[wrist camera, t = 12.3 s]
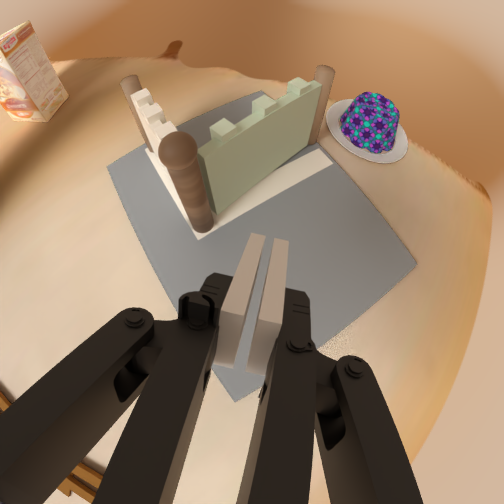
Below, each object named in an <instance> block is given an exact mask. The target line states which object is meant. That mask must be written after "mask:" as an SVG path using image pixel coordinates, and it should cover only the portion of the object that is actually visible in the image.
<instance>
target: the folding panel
mask: <svg viewBox="0 0 504 504" xmlns="http://www.w3.org/2000/svg"><path fill="white" fill-rule="evenodd" d="M334 75H335V70H334V69H333V68H331V67H329V66H326V65H319V66H317V67H316V72H315V76H314V80H313V81H311V82H306V81H305V80H303V79H301V78H299V77H297V78H295V79H293V80H291V81H289V82H288V86H287V94H286V95H284V96H282V97H280V98H278V99H277V100H273V99H271V98H270V97H268V96H267V95H265V94H264V95H263V96H261V97H259V98H257V99H255V100H254V101H252V114H251V115H249V116H248V117H246V118H244V119H243V120H241V121H240V122H238V123H236V124H235V125H233V124H232V123H231V122H229V121H228V120H226V119H225V118H223V119H221V120H220V121H218V122H217V123H215V124H214V125H212V126H210V133H211V139H212V140H210V141H209V142H208V143H206V144H205V145H203V146H202V147H200V148H199V149H198V152H197V158H198V162H199V166H200V170H201V174H202V178H203V181H204V185H205V189H206V193H207V197H208V200H209V204H210V208H211V210H212V211H213V212H214V213H215V214H216V215H219V214H220V213H221V212H222V211H223V210H225V209H226V208H227V207H228V206H230V205H231V204H232V203H233V202H234V201H236V200H237V199H238V198H239V197H241V196H242V195H243V194H244V193H246V192H247V191H248V190H249V189H251V188H252V187H253V186H254V185H256V184H257V183H258V182H260V181H261V180H262V179H263V178H265V177H266V176H267V175H269V174H270V173H271V172H272V171H274V170H275V169H276V168H278V167H279V166H280V165H282V164H283V163H284V162H286V161H287V160H288V159H289V158H291V157H292V156H293V155H295V154H296V153H297V152H299V151H300V150H301V149H303V148H304V147H306V146H307V144H308V145H313V144H315V143H316V140H317V137H318V133H319V130H320V126H321V123H322V119H323V116H324V112H325V109H326V105H327V101H328V98H329V94H330V90H331V87H332V83H333V79H334Z"/></svg>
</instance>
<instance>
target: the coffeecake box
mask: <svg viewBox="0 0 504 504" xmlns="http://www.w3.org/2000/svg"><path fill="white" fill-rule="evenodd" d="M68 97H69V95H68V93H67V92H66V90H65V88H64V87H63V85H62V83H61V81H60V79H59V78H58V76H57V74H56V72H55V70H54V69H53V67H52V65H51V63H50V61H49V59H48V57H47V55H46V53H45V52H44V50H43V48H42V46H41V44H40V42H39V40H38V38H37V36H36V33H35V31H34V29H33V27H32V25H31V23H30V21H29V20H28V21H27V22H25V23H23V24H21V25H19V26H17V27H15V28H13V29H11V30H9V31H7V32H5V33H3V34H2V35H0V104H1V105H2V106H3V108H4V109H5V110H6V112H7V113H8V114H9V115H10V117H11V118H12V119H13V121H31V122H48V121H49V120H50V119H51V117H52V116H53V115H54V114H55V112H56V111H57V110H58V108H59V107H60V106H61V105H62V104H63V103H64V102H65V101H66V100H67V98H68Z"/></svg>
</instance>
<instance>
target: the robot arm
mask: <svg viewBox="0 0 504 504" xmlns="http://www.w3.org/2000/svg"><path fill="white" fill-rule="evenodd" d="M264 241H265V236H264V235H260V234H255V233H251V235H250V237H249V240H248V242H247V245H246V247H245V250H244V252H243V255H242V257H241V260H240V262H239V265H238V267H237V270H236V272H235V275H234V277H233V276H229V275H224V274H220V273H216V272H214V273H212V274H211V275H209V276H208V277H206V279H205V281H204V283H203V285H202V286H201V288H200V291H193V292H187V293H185V294H183V295H182V296H181V297H180V298H179V300H178V319H176V320H171V321H162V320H154V318H153V316H152V314H151V313H150V312H148V311H147V310H145V309H142V308H135V307H132V308H128V309H125V310H123V311H121V312H120V313H118V314H117V315H116V316H115V317H113V318H112V319H111V320H110V321H109V322H107V323H106V324H105V325H104V326H102V327H101V328H100V329H99V330H97V331H96V332H95V333H94V334H93V335H91V336H90V337H89V338H88V339H87V340H85V341H84V342H83V343H82V344H80V345H79V346H78V347H77V348H76V349H75V350H73V351H72V352H71V353H70V354H69V355H67V356H66V357H65V358H64V359H63V360H61V361H60V362H59V363H58V364H57V365H56V366H54V367H53V368H52V369H51V370H50V371H49V372H47V373H46V374H45V375H44V376H43V377H42V378H41V379H39V380H38V381H37V382H36V383H35V384H34V385H33V386H31V387H30V388H29V389H28V390H27V391H26V392H25V393H24V394H22V395H21V396H20V397H19V398H18V399H17V400H16V401H15V402H14V403H13V404H11V405H10V406H9V407H8V408H7V409H6V410H5V411H4V412H3V413H2V414H1V415H0V504H43V503H44V502H45V501H46V500H47V499H48V497H49V496H50V495H51V494H52V493H53V492H54V491H55V490H56V489H57V487H58V486H59V485H60V484H61V483H62V482H63V481H64V480H65V478H66V477H67V476H68V475H69V474H70V473H71V472H72V471H73V470H74V468H75V467H76V466H77V465H78V464H79V463H80V462H81V461H82V459H83V458H84V457H85V456H86V455H87V454H88V453H89V452H90V450H91V449H92V448H93V447H94V446H95V445H96V444H97V442H98V441H99V440H100V439H101V438H102V437H103V436H104V435H105V433H106V432H107V431H108V430H109V429H110V428H111V427H112V425H113V424H114V423H115V422H116V421H117V420H118V419H119V417H120V416H121V415H122V414H123V413H124V412H125V411H126V410H127V408H128V407H129V406H130V405H131V404H132V403H133V402H134V400H135V399H136V398H137V397H138V396H139V395H140V396H139V398H138V400H137V402H136V404H135V406H134V409H133V411H132V413H131V415H130V417H129V419H128V421H127V424H126V426H125V428H124V430H123V432H122V435H121V437H120V439H119V441H118V444H117V446H116V448H115V450H114V453H113V455H112V457H111V459H110V462H109V464H108V466H107V469H106V471H105V473H104V476H103V478H102V480H101V483H100V485H99V488H98V490H97V492H96V495H95V497H94V500H93V502H92V504H172V503H173V500H174V496H175V493H176V489H177V486H178V482H179V479H180V476H181V472H182V469H183V465H184V462H185V459H186V455H187V452H188V448H189V445H190V442H191V438H192V435H193V432H194V428H195V425H196V421H197V418H198V415H199V411H200V408H201V405H202V401H203V398H204V395H205V391H206V388H207V384H208V381H209V378H210V374H211V366H212V363H213V360H214V363H213V364H215V365H219V366H223V367H227V368H232V369H233V366H234V363H235V359H236V355H237V351H238V348H239V344H240V340H241V336H242V333H243V329H244V325H245V321H246V317H247V313H248V310H249V306H250V302H251V298H252V294H253V290H254V287H255V283H256V279H257V274H258V269H259V265H260V260H261V255H262V251H263V246H264ZM288 246H289V241H287V240H282V239H278V238H274V242H273V247H272V251H271V256H270V260H269V264H268V268H267V273H266V277H265V281H264V286H263V291H262V296H261V300H260V305H259V310H258V315H257V319H256V324H255V328H254V333H253V338H252V342H251V347H250V351H249V356H248V360H247V365H246V369H245V372H249V373H254V374H258V375H263V376H265V373H266V376H265V380H264V383H263V386H262V389H261V391H260V394H259V397H258V398H260V400H259V405H258V410H257V415H256V419H255V424H254V429H253V433H252V438H251V443H250V447H249V452H248V456H247V460H246V465H245V469H244V473H243V477H242V482H241V486H240V490H239V494H238V498H237V502H236V504H308V501H309V491H310V481H311V470H312V458H313V444H314V429H315V433H316V438H317V442H318V447H319V451H320V456H321V460H322V465H323V470H324V474H325V479H326V484H327V488H328V493H329V498H330V503H331V504H423V501H422V498H421V495H420V491H419V489H418V486H417V483H416V480H415V477H414V474H413V471H412V468H411V465H410V463H409V460H408V457H407V454H406V452H405V449H404V446H403V444H402V441H401V439H400V436H399V433H398V431H397V428H396V426H395V423H394V421H393V418H392V416H391V413H390V411H389V409H388V406H387V404H386V401H385V399H384V397H383V394H382V392H381V390H380V387H379V385H378V383H377V380H376V378H375V376H374V374H373V371H372V369H371V367H370V366H369V365H368V363H367V362H365V361H364V360H363V359H361V358H359V357H357V356H351V355H348V356H343V357H341V358H340V359H339V360H338V361H336V360H333V359H331V358H329V357H326V356H325V355H323V354H321V353H320V352H319V351H317V349H316V346H315V343H314V342H313V341H312V339H311V315H310V314H311V313H310V299H309V297H308V296H307V294H306V292H304V291H299V290H295V289H290V288H285V285H286V273H287V260H288ZM140 393H141V394H140Z"/></svg>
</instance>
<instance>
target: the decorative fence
mask: <svg viewBox="0 0 504 504" xmlns="http://www.w3.org/2000/svg"><path fill="white" fill-rule="evenodd" d="M10 405H11V403H10V402H9V401H8V400H7V398H6V397H5V396H4V395H3V394H2V393H1V391H0V408H1V409H2V411H3V412H4V411H5V410H6V409H7V408H8V407H9V406H10ZM0 415H1V413H0ZM74 474H75V475H77V476H78V477H80V478H81V479H83V480H85V481H86V482H88V483H90V484H91V485H93V486H94V487H96V488H99V485H100V483H101V480H102V478H103V476H102V475H100V474H99V473H97V472H96V471H94V470H92V469H91V468H89V467H87V466H86V465H84V464H82V463H81V462H80V463H79V464H78V465H77V466H76V467H75V468H74V470H73V471H72V472H71V473H70V474H69V475H68V476H67V477H66V478H65V480H64V481H63V482H62V483H61V484H60V485H59V486H58V487H57V489H58V490H60V491H61V492H62V493H64V494H65V495H66V496H68V497H69V496H70V493H71V491H73V492H74V493H76V494H77V495H79V496H80V497H82V498H83V499H85V500H86V501H88V502H89V503H91V504H92V502H93V500H94V497H95V495H96V493H95V492H94V491H92V490H91V489H89V488H88V487H86V486H85V485H83V484H82V483H80V482H79V481H77V480H76V479H74V478H73V476H74Z"/></svg>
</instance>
